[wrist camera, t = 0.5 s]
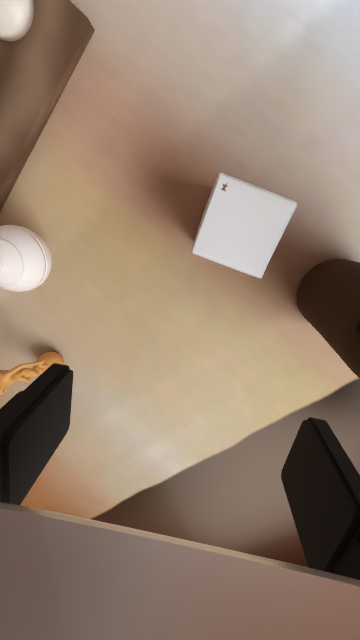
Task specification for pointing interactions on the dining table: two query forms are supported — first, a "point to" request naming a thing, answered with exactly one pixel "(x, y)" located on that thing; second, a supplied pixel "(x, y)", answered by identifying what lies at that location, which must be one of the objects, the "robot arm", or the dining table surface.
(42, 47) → the button board
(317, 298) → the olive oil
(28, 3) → the cream button
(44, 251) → the spinning top
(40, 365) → the figurine
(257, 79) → the dining table surface
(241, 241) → the supplement box
